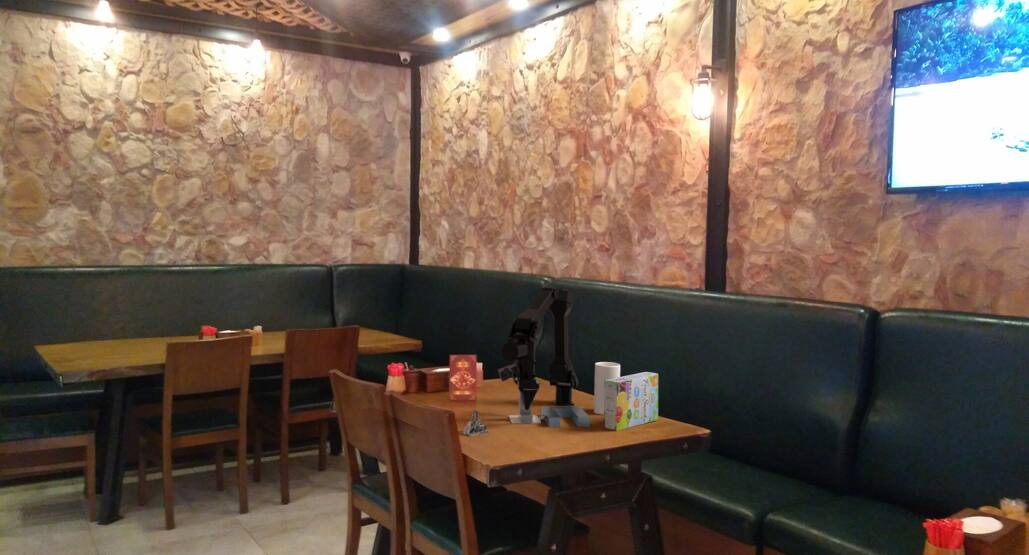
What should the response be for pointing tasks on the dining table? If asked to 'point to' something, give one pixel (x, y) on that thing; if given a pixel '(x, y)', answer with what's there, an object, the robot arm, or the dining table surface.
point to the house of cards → (474, 426)
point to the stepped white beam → (524, 411)
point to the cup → (603, 373)
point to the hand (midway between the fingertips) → (524, 406)
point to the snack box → (630, 400)
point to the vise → (564, 415)
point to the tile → (516, 420)
